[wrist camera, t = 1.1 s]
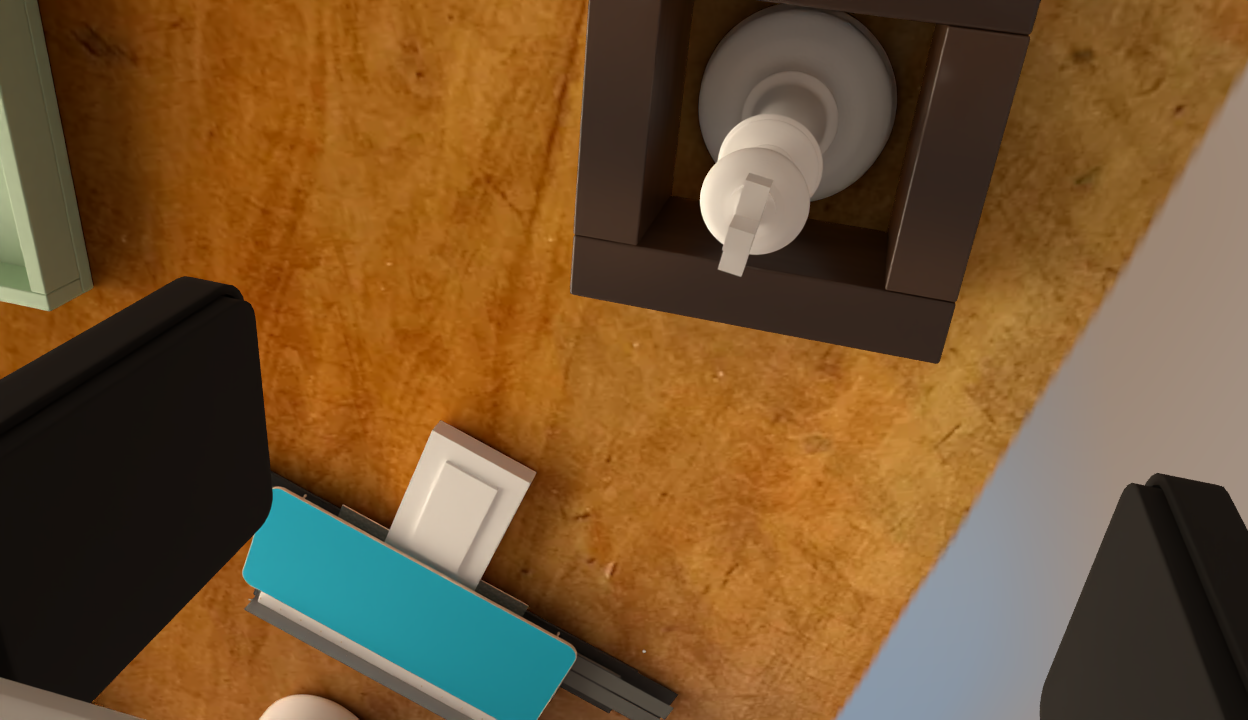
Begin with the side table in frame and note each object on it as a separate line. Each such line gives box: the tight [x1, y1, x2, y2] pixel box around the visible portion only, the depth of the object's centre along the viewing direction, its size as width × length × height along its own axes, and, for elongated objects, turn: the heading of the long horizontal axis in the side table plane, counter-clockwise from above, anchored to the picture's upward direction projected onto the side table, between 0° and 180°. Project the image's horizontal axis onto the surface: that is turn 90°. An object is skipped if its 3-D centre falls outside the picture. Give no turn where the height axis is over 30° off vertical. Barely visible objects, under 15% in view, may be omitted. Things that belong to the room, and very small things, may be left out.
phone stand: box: [242, 420, 678, 720], centre depth 34 cm, size 20×12×2 cm, turn 65°
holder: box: [570, 0, 1041, 364], centre depth 23 cm, size 9×9×4 cm
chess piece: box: [698, 4, 897, 277], centre depth 20 cm, size 5×5×10 cm
